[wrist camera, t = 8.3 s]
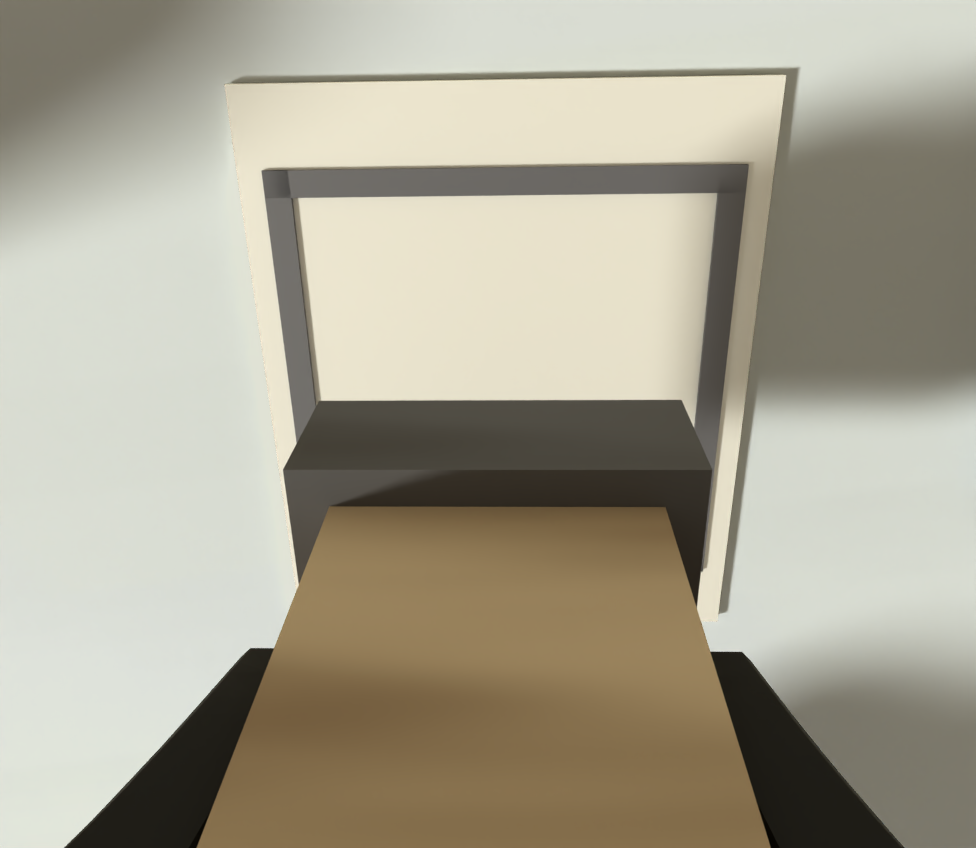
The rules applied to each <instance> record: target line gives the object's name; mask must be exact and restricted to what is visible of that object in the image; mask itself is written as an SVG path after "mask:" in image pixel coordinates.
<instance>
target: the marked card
mask: <svg viewBox="0 0 976 848" xmlns="http://www.w3.org/2000/svg"><path fill="white" fill-rule="evenodd" d="M785 82H786V75H724V76H663V77H603V78H542V79H482V80H421V81H361V82H300V83H239V84H224V86H225V93H226V100H227V107H228V114H229V121H230V129H231V136H232V143H233V150H234V157H235V164H236V171H237V178H238V185H239V192H240V199H241V206H242V213H243V220H244V227H245V234H246V241H247V248H248V255H249V263H250V270H251V277H252V284H253V291H254V298H255V305H256V312H257V319H258V326H259V333H260V340H261V347H262V354H263V361H264V368H265V375H266V382H267V389H268V396H269V404H270V411H271V418H272V425H273V432H274V439H275V446H276V453H277V460H278V467H279V474H280V481H281V488H282V495H283V502H284V509H285V516H286V523H287V530H288V537H289V545H290V552H291V559H292V566H293V573H294V580H295V587H296V591H297V588H298V586H299V582H298V575H297V568H296V561H295V554H294V546H293V539H292V532H291V525H290V518H289V510H288V503H287V496H286V489H285V482H284V474H283V469H284V467H285V465H286V463H287V461H288V459H289V457H290V455H291V453H292V451H293V450H294V448H295V446H296V444H297V442H298V440H299V438H300V436H301V434H302V432H303V430H304V429H305V427H306V425H307V423H308V421H309V419H310V417H311V415H312V413H313V411H314V410H315V408H316V406H317V404H318V402H319V401H394V400H682V402H683V404H684V407H685V409H686V411H687V413H688V416H689V418H690V420H691V422H692V425H693V427H694V429H695V432H696V434H697V436H698V438H699V441H700V443H701V445H702V447H703V450H704V452H705V454H706V457H707V459H708V461H709V463H710V466H711V468H712V478H711V487H710V496H709V505H708V514H707V522H706V531H705V540H704V549H703V558H702V567H701V575H700V584H699V593H698V602H697V611H698V614H699V617H700V620H701V621H712V622H717V620H718V612H719V604H720V596H721V588H722V580H723V572H724V564H725V556H726V549H727V541H728V533H729V525H730V517H731V509H732V501H733V493H734V485H735V477H736V469H737V461H738V454H739V446H740V438H741V430H742V422H743V414H744V406H745V398H746V390H747V382H748V374H749V367H750V359H751V351H752V343H753V335H754V327H755V319H756V311H757V303H758V295H759V287H760V280H761V272H762V264H763V256H764V248H765V240H766V232H767V224H768V216H769V208H770V200H771V192H772V185H773V177H774V169H775V161H776V153H777V145H778V137H779V129H780V121H781V113H782V105H783V98H784V90H785Z"/></svg>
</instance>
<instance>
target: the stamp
mask: <svg viewBox="0 0 976 848" xmlns="http://www.w3.org/2000/svg"><path fill="white" fill-rule="evenodd" d="M283 474H284V482H285V489H286V496H287V503H288V510H289V518H290V525H291V532H292V539H293V546H294V554H295V561H296V568H297V575H298V582H299V586H298V588H297V591H296V593H295V596H294V599H293V601H292V604H291V606H290V609H289V612H288V614H287V617H286V619H285V622H284V624H283V627H282V630H281V632H280V635H279V637H278V640H277V642H276V645H275V648H274V650H273V653H272V655H271V658H270V660H269V663H268V666H267V668H266V671H265V673H264V676H263V678H262V681H261V684H260V686H259V689H258V691H257V694H256V696H255V699H254V702H253V704H252V707H251V709H250V712H249V714H248V717H247V720H246V722H245V725H244V727H243V730H242V732H241V735H240V738H239V740H238V743H237V745H236V748H235V750H234V753H233V756H232V758H231V761H230V763H229V766H228V768H227V771H226V774H225V776H224V779H223V781H222V784H221V786H220V789H219V792H218V794H217V797H216V799H215V802H214V804H213V807H212V810H211V812H210V815H209V817H208V820H207V822H206V825H205V828H204V830H203V833H202V835H201V838H200V840H199V843H198V846H197V848H771V847H770V844H769V840H768V837H767V834H766V831H765V828H764V824H763V821H762V818H761V815H760V811H759V808H758V805H757V802H756V798H755V795H754V792H753V789H752V785H751V782H750V779H749V776H748V773H747V769H746V766H745V763H744V760H743V756H742V753H741V750H740V747H739V743H738V740H737V737H736V734H735V730H734V727H733V724H732V721H731V717H730V714H729V711H728V708H727V705H726V701H725V698H724V695H723V692H722V688H721V685H720V682H719V679H718V675H717V672H716V669H715V666H714V662H713V659H712V656H711V653H710V650H709V646H708V643H707V640H706V637H705V633H704V630H703V627H702V624H701V620H700V617H699V614H698V611H697V602H698V593H699V584H700V575H701V567H702V558H703V549H704V540H705V531H706V522H707V514H708V505H709V496H710V487H711V478H712V468H711V466H710V463H709V461H708V459H707V457H706V454H705V452H704V450H703V447H702V445H701V443H700V441H699V438H698V436H697V434H696V432H695V429H694V427H693V425H692V422H691V420H690V418H689V416H688V413H687V411H686V409H685V407H684V404H683V402H682V400H394V401H319V402H318V404H317V406H316V408H315V410H314V411H313V413H312V415H311V417H310V419H309V421H308V423H307V425H306V427H305V429H304V430H303V432H302V434H301V436H300V438H299V440H298V442H297V444H296V446H295V448H294V450H293V451H292V453H291V455H290V457H289V459H288V461H287V463H286V465H285V467H284V469H283Z"/></svg>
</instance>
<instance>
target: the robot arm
mask: <svg viewBox="0 0 976 848" xmlns="http://www.w3.org/2000/svg"><path fill="white" fill-rule="evenodd" d="M273 650H274V648H250V649H249V650H248V651H247V652H246V653H245V654H244V655H243V656H242V657H241V658H240V659H239V660H238V661H237V662H236V663H235V664H234V666H233V667H232V668H231V669H230V670H229V671H228V672H227V673H226V675H225V676H224V677H223V678H222V679H221V680H220V681H219V683H218V684H217V685H216V686H215V687H214V688H213V689H212V690H211V692H210V693H209V694H208V695H207V696H206V697H205V698H204V700H203V701H202V702H201V703H200V704H199V705H198V706H197V707H196V709H195V710H194V711H193V712H192V713H191V714H190V715H189V717H188V718H187V719H186V720H185V721H184V722H183V723H182V724H181V725H180V727H179V728H178V729H177V730H176V731H175V732H174V733H173V734H172V735H171V737H170V738H169V739H168V740H167V741H166V742H165V743H164V744H163V745H162V747H161V748H160V749H159V750H158V751H157V752H156V753H155V754H154V755H153V756H152V757H151V758H150V759H149V761H148V762H147V763H146V764H145V765H144V766H143V767H142V768H141V769H140V770H139V771H138V772H137V773H136V774H135V775H134V776H133V778H132V779H131V780H130V781H129V782H128V783H127V784H126V785H125V786H124V787H123V788H122V789H121V790H120V791H119V792H118V794H117V795H116V796H115V797H114V798H113V799H112V800H111V801H110V802H109V803H108V804H107V805H106V806H105V807H104V808H103V809H102V810H101V811H100V813H99V814H98V815H97V816H96V817H95V818H94V819H93V820H92V821H91V822H90V823H89V824H88V825H87V826H86V827H85V828H84V829H83V830H82V831H81V832H80V833H79V834H78V835H77V836H76V837H75V838H74V839H73V840H72V841H71V842H70V843H69V844H67V845H66V846H65V847H64V848H197V846H198V843H199V840H200V838H201V835H202V833H203V830H204V828H205V825H206V822H207V820H208V817H209V815H210V812H211V810H212V807H213V804H214V802H215V799H216V797H217V794H218V792H219V789H220V786H221V784H222V781H223V779H224V776H225V774H226V771H227V768H228V766H229V763H230V761H231V758H232V756H233V753H234V750H235V748H236V745H237V743H238V740H239V738H240V735H241V732H242V730H243V727H244V725H245V722H246V720H247V717H248V714H249V712H250V709H251V707H252V704H253V702H254V699H255V696H256V694H257V691H258V689H259V686H260V684H261V681H262V678H263V676H264V673H265V671H266V668H267V666H268V663H269V660H270V658H271V655H272V653H273ZM710 653H711V656H712V659H713V662H714V666H715V669H716V672H717V675H718V679H719V682H720V685H721V688H722V692H723V695H724V698H725V701H726V705H727V708H728V711H729V714H730V717H731V721H732V724H733V727H734V730H735V734H736V737H737V740H738V743H739V747H740V750H741V753H742V756H743V760H744V763H745V766H746V769H747V773H748V776H749V779H750V782H751V785H752V789H753V792H754V795H755V798H756V802H757V805H758V808H759V811H760V815H761V818H762V821H763V824H764V828H765V831H766V834H767V837H768V840H769V844H770V847H771V848H904V847H903V846H902V845H901V843H900V842H899V841H898V840H897V839H896V838H895V837H894V836H893V834H892V833H891V832H890V831H889V830H888V829H887V828H886V826H885V825H884V824H883V823H882V822H881V821H880V819H879V818H878V817H877V816H876V815H875V814H874V813H873V811H872V810H871V809H870V808H869V807H868V806H867V804H866V803H865V802H864V801H863V800H862V799H861V798H860V796H859V795H858V794H857V793H856V792H855V791H854V789H853V788H852V787H851V786H850V785H849V784H848V783H847V781H846V780H845V779H844V778H843V777H842V775H841V774H840V773H839V772H838V771H837V769H836V768H835V767H834V766H833V765H832V763H831V762H830V761H829V760H828V759H827V757H826V756H825V755H824V754H823V752H822V751H821V750H820V749H819V747H818V746H817V745H816V744H815V743H814V741H813V740H812V739H811V738H810V736H809V735H808V734H807V733H806V731H805V730H804V729H803V728H802V726H801V725H800V724H799V723H798V721H797V720H796V719H795V718H794V716H793V715H792V714H791V712H790V711H789V710H788V709H787V707H786V706H785V705H784V704H783V702H782V701H781V700H780V698H779V697H778V696H777V694H776V693H775V692H774V691H773V689H772V688H771V687H770V685H769V684H768V683H767V681H766V680H765V679H764V678H763V676H762V675H761V674H760V672H759V671H758V670H757V668H756V667H755V666H754V664H753V663H752V662H751V661H750V660H749V659H748V658H747V657H746V656H745V655H744V654H743V653H742V652H710Z"/></svg>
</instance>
